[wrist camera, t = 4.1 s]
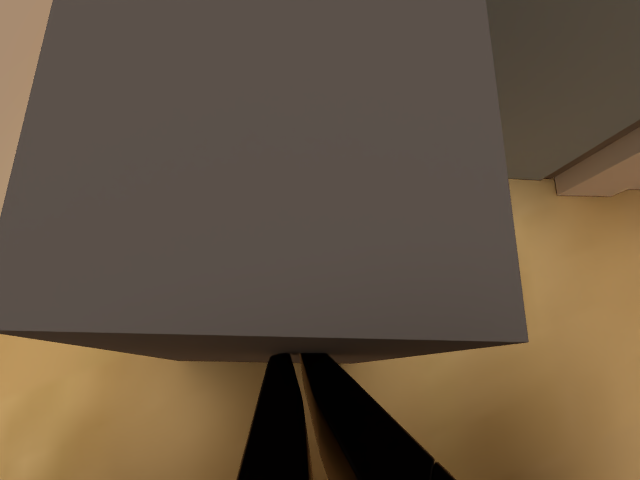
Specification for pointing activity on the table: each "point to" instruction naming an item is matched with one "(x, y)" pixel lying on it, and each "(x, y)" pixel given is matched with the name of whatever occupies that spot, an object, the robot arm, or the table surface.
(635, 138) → the wall frame
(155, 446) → the table surface
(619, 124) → the door
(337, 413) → the robot arm
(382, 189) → the doorstop block
